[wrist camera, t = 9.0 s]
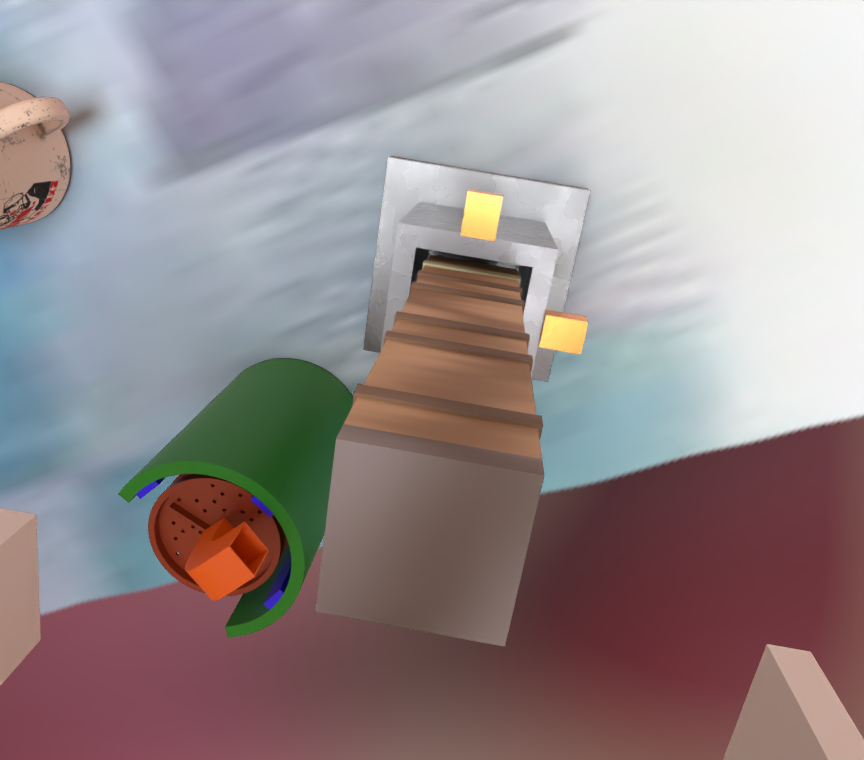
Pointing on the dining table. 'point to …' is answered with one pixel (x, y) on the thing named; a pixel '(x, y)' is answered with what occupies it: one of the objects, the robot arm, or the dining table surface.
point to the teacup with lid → (31, 156)
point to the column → (438, 463)
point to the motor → (249, 489)
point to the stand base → (481, 245)
